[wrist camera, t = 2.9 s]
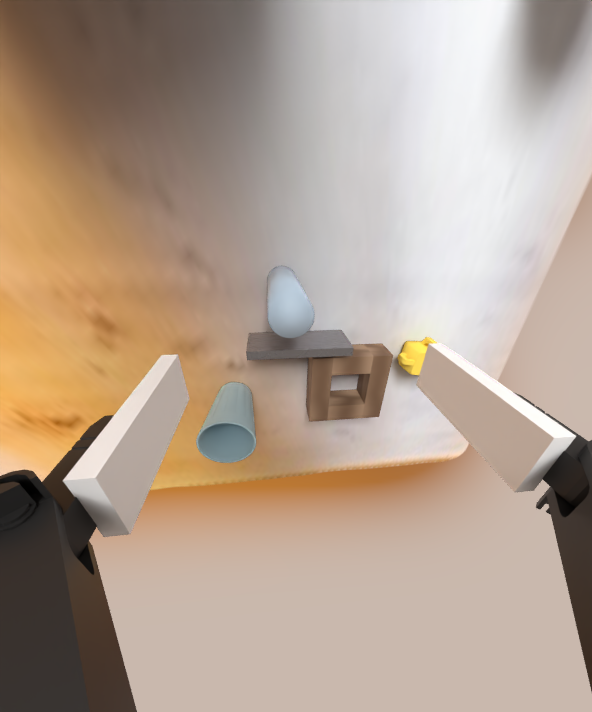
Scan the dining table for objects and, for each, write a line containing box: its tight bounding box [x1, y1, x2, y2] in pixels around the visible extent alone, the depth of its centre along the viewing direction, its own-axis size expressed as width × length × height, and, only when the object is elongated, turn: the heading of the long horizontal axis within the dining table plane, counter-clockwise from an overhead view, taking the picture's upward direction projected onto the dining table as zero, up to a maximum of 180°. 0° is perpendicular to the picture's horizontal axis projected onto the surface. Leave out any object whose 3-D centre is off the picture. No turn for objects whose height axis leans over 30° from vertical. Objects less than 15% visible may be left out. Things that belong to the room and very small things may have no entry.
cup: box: [196, 382, 256, 463], centre depth 37 cm, size 8×8×10 cm
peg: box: [267, 266, 314, 338], centre depth 27 cm, size 4×4×14 cm
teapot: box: [398, 337, 437, 375], centre depth 38 cm, size 8×6×5 cm
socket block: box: [306, 344, 393, 421], centre depth 40 cm, size 12×12×4 cm
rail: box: [246, 330, 353, 360], centre depth 34 cm, size 14×1×6 cm, turn 89°
